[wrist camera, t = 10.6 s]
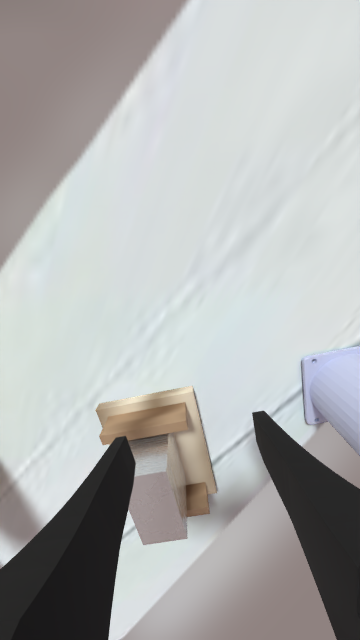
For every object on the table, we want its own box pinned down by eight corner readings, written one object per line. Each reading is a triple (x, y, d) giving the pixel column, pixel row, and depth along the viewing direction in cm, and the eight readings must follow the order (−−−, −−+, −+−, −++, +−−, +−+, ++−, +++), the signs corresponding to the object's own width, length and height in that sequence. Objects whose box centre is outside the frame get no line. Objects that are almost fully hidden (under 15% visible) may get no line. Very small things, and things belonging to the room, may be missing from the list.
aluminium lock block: (169, 418, 21) (166, 471, 16) (185, 476, 24) (187, 538, 18) (131, 425, 22) (116, 479, 16) (151, 481, 24) (143, 545, 19)
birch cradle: (192, 385, 22) (194, 409, 18) (215, 484, 25) (220, 518, 22) (99, 403, 22) (85, 429, 19) (135, 497, 26) (129, 532, 23)
